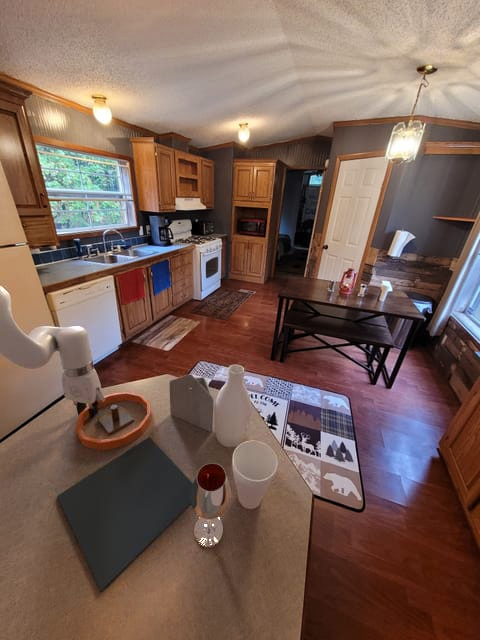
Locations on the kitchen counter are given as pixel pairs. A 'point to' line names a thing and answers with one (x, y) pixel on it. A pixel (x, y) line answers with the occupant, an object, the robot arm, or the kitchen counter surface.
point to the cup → (253, 471)
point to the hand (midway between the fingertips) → (88, 413)
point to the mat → (125, 508)
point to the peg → (115, 419)
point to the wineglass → (210, 502)
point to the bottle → (232, 409)
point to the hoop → (118, 440)
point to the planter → (192, 401)
